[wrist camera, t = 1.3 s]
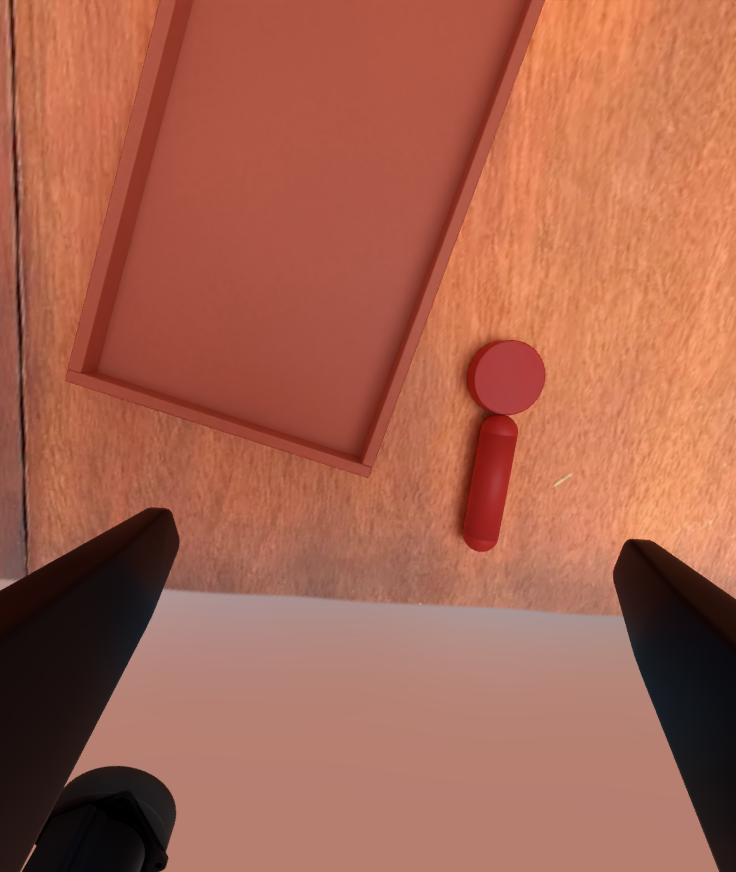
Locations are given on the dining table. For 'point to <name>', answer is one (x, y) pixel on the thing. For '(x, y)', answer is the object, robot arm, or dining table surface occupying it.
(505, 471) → the red spoon
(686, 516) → the dining table surface
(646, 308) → the dining table surface
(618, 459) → the dining table surface
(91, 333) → the red tray
